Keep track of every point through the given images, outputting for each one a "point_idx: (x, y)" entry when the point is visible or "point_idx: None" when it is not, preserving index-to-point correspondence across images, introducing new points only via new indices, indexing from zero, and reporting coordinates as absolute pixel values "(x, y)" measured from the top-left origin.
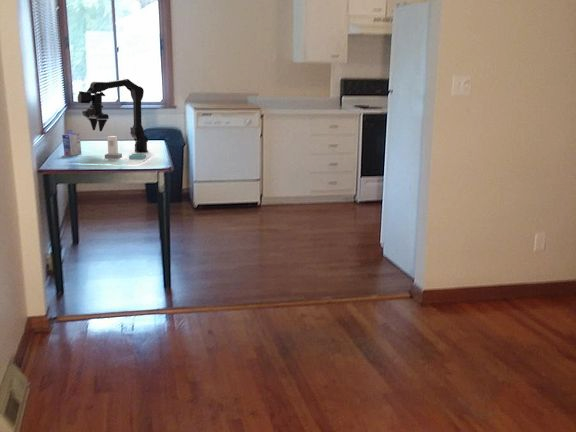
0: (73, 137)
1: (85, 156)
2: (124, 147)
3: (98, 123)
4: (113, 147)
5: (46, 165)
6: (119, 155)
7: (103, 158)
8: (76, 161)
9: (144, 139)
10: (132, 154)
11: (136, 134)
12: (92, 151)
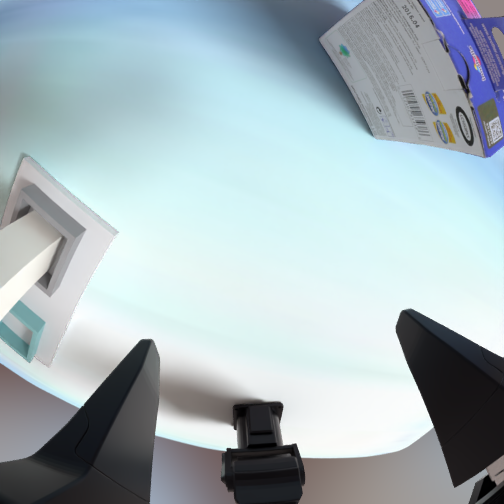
0: (421, 45)
1: (238, 107)
2: (397, 386)
3: (99, 447)
4: None
5: None
6: None
7: (31, 174)
8: (73, 20)
9: (222, 465)
10: (21, 322)
11: (233, 476)
12: (412, 240)
